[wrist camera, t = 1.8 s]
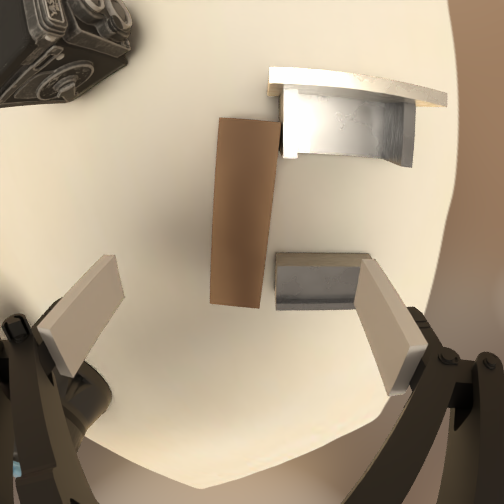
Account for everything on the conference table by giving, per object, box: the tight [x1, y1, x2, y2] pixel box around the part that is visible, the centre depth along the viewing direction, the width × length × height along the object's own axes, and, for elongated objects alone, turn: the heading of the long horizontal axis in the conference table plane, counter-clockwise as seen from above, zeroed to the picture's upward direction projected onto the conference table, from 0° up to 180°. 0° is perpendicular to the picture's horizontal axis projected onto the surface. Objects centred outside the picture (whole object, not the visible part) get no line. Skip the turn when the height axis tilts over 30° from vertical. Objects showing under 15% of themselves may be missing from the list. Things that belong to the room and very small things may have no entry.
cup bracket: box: [267, 67, 447, 168], centre depth 21 cm, size 12×6×10 cm, turn 90°
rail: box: [210, 118, 281, 308], centre depth 26 cm, size 4×16×6 cm, turn 175°
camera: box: [0, 0, 132, 108], centre depth 15 cm, size 10×10×15 cm
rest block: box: [275, 253, 372, 310], centre depth 30 cm, size 10×4×4 cm, turn 90°
